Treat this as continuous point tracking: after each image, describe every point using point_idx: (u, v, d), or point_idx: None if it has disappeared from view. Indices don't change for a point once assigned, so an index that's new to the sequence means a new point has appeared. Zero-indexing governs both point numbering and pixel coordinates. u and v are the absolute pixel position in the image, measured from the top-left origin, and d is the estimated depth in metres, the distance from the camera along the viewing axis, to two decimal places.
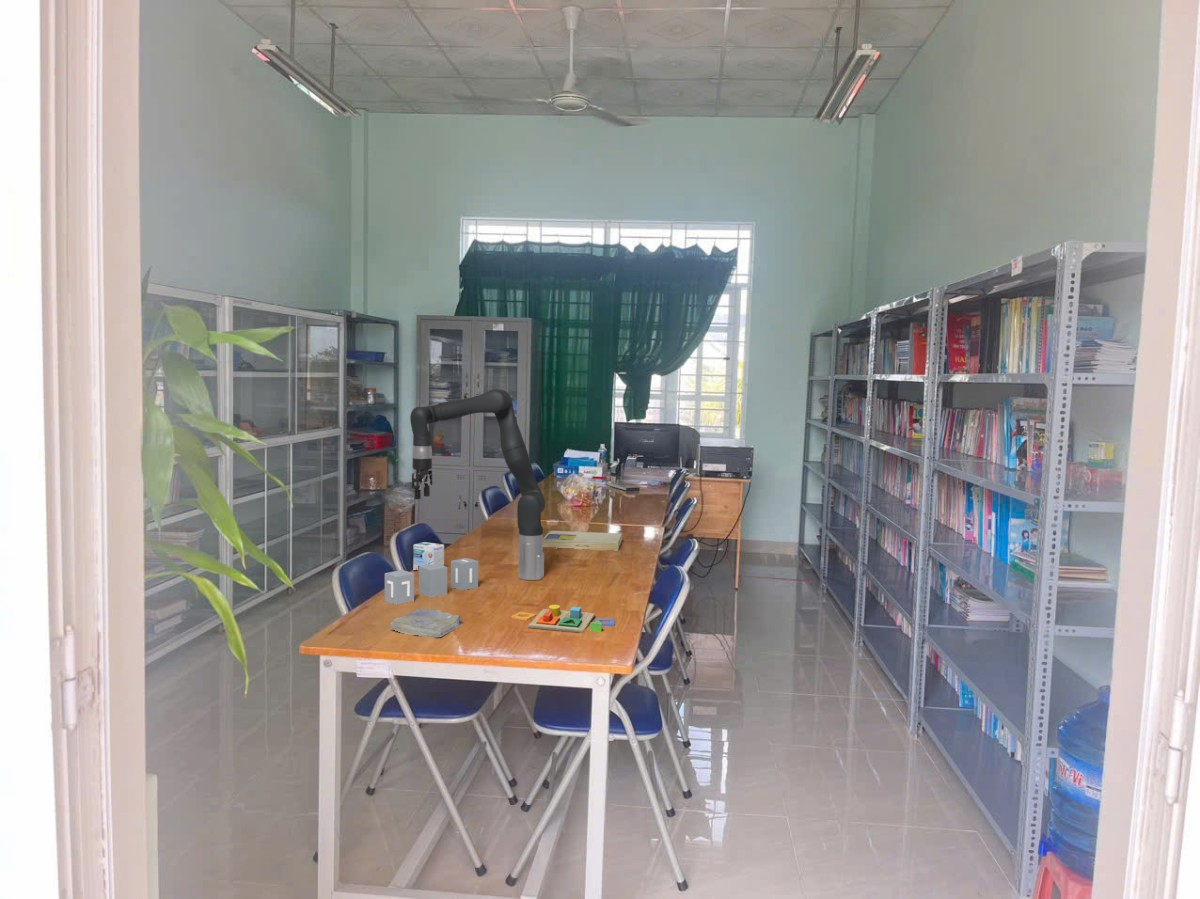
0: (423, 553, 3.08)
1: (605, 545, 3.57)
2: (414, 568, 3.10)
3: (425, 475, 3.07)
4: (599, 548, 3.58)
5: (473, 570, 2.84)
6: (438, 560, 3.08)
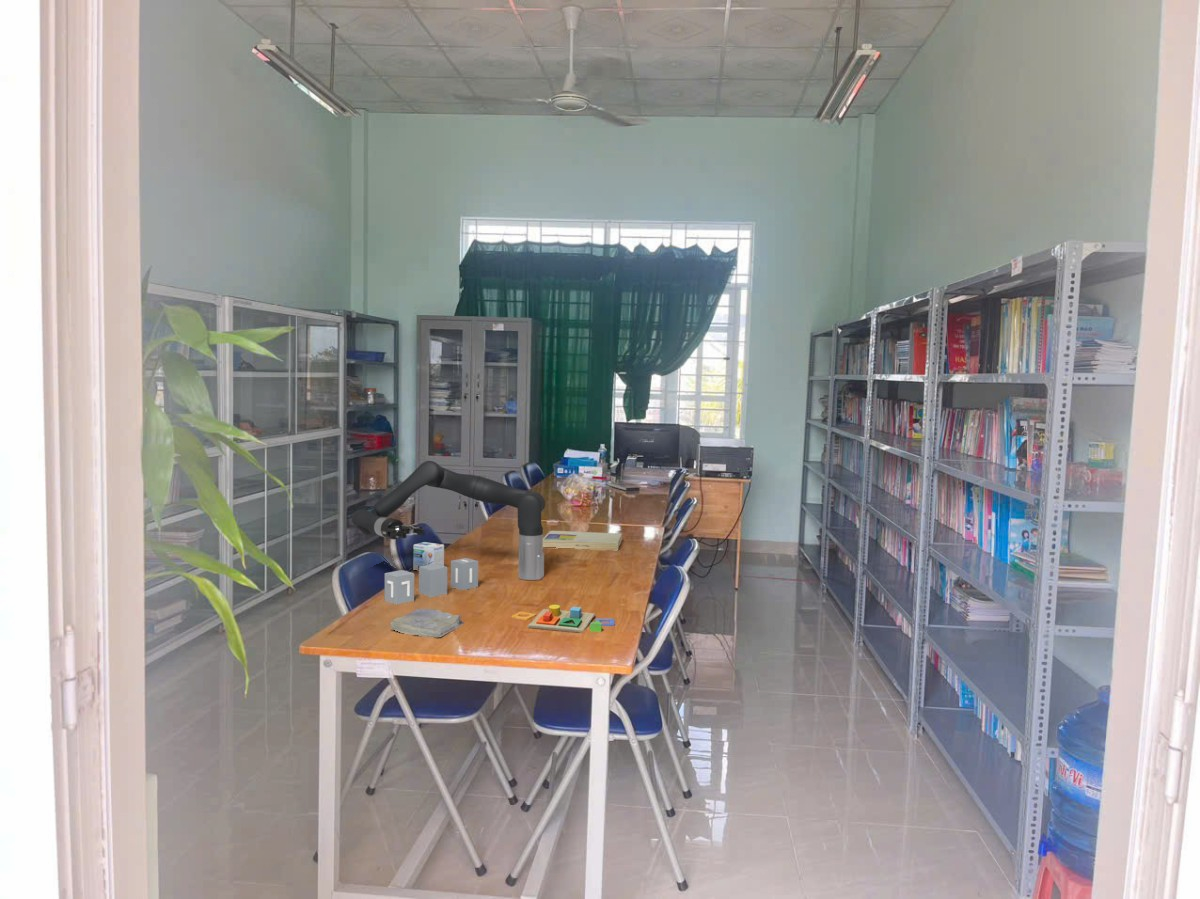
0: (423, 553, 3.08)
1: (604, 545, 3.57)
2: (414, 568, 3.10)
3: (396, 525, 2.87)
4: (599, 548, 3.58)
5: (473, 570, 2.84)
6: (438, 560, 3.08)
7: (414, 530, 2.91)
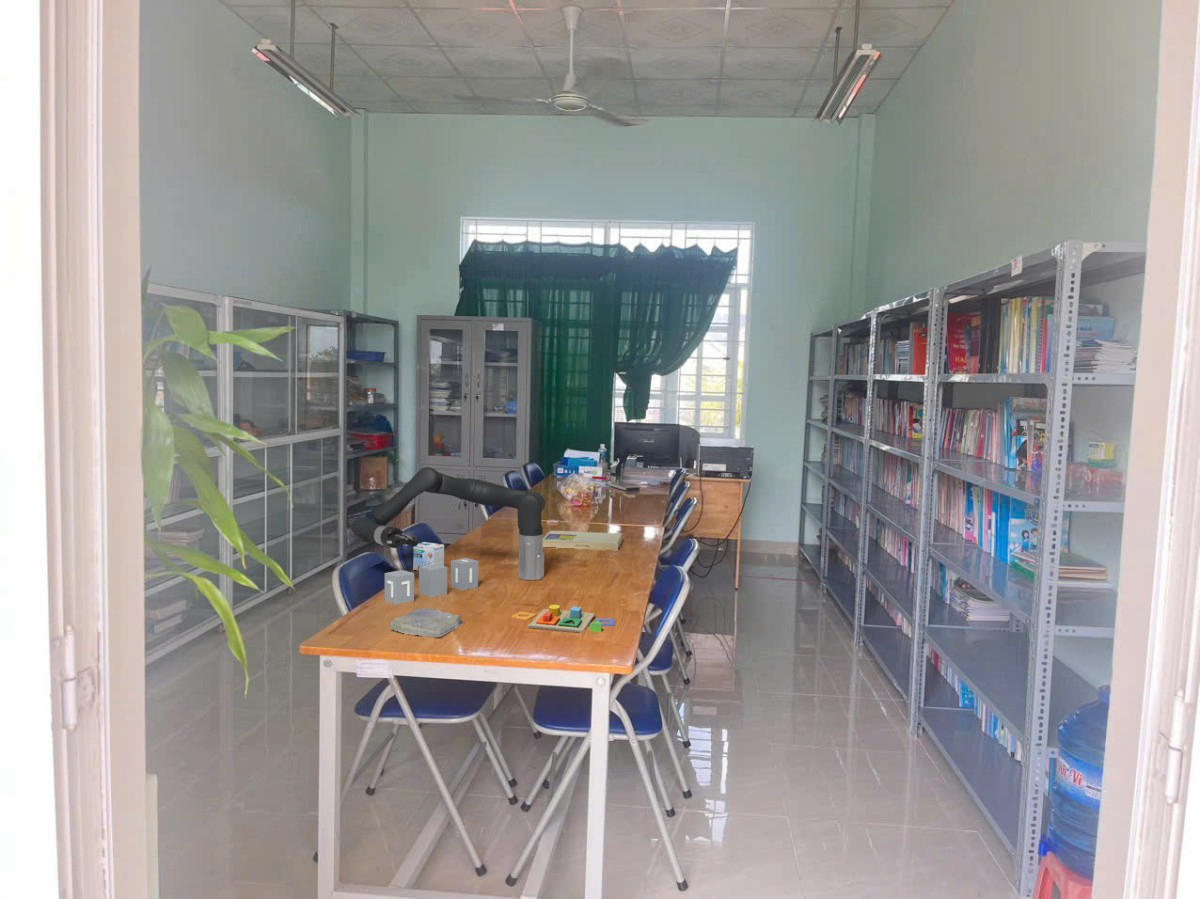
0: (423, 553, 3.08)
1: (604, 545, 3.57)
2: (414, 568, 3.10)
3: (396, 534, 2.87)
4: (599, 548, 3.58)
5: (473, 570, 2.84)
6: (438, 560, 3.08)
7: None
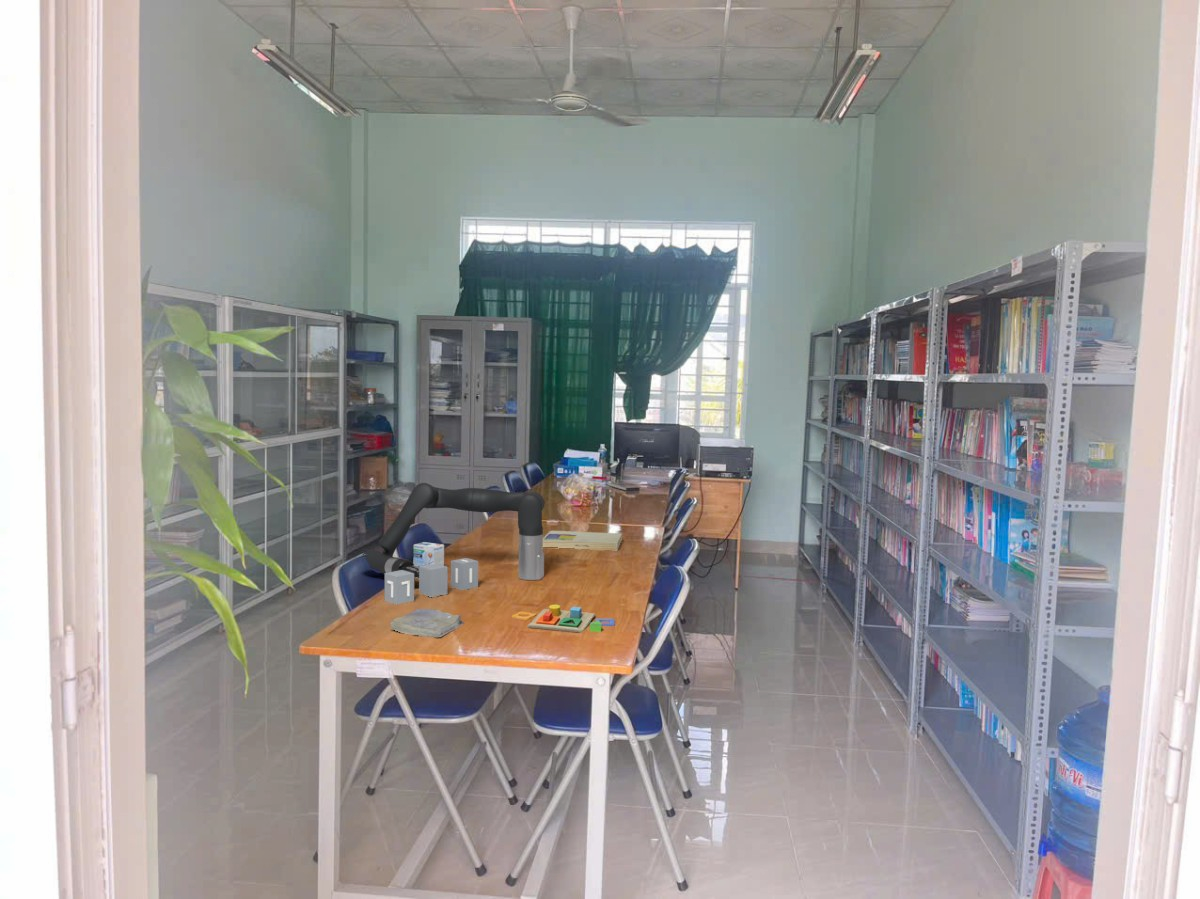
0: (423, 553, 3.08)
1: (604, 545, 3.57)
2: None
3: (407, 566, 2.83)
4: (598, 548, 3.58)
5: (473, 570, 2.84)
6: (438, 560, 3.08)
7: None
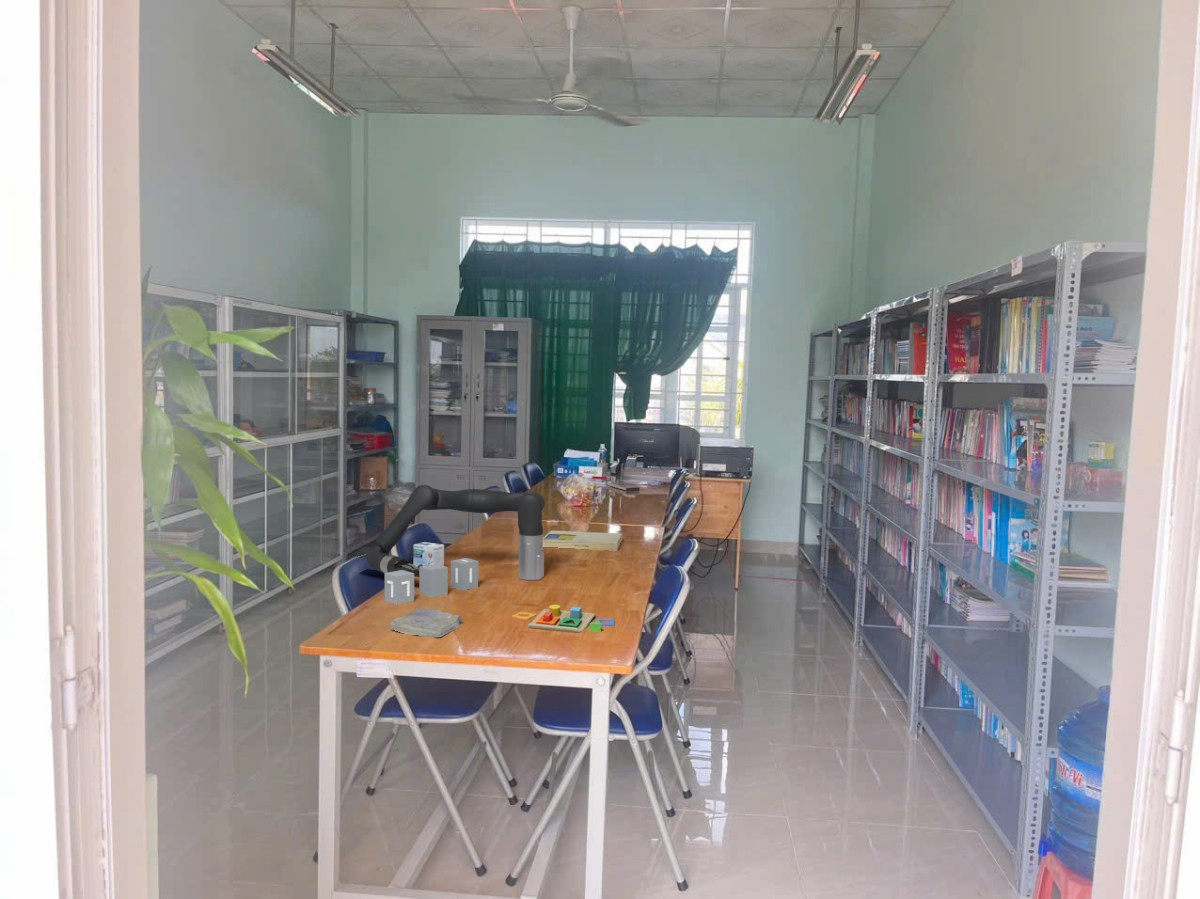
0: (423, 553, 3.08)
1: (604, 545, 3.57)
2: None
3: (403, 564, 2.85)
4: (598, 548, 3.58)
5: (473, 570, 2.84)
6: (438, 560, 3.08)
7: None
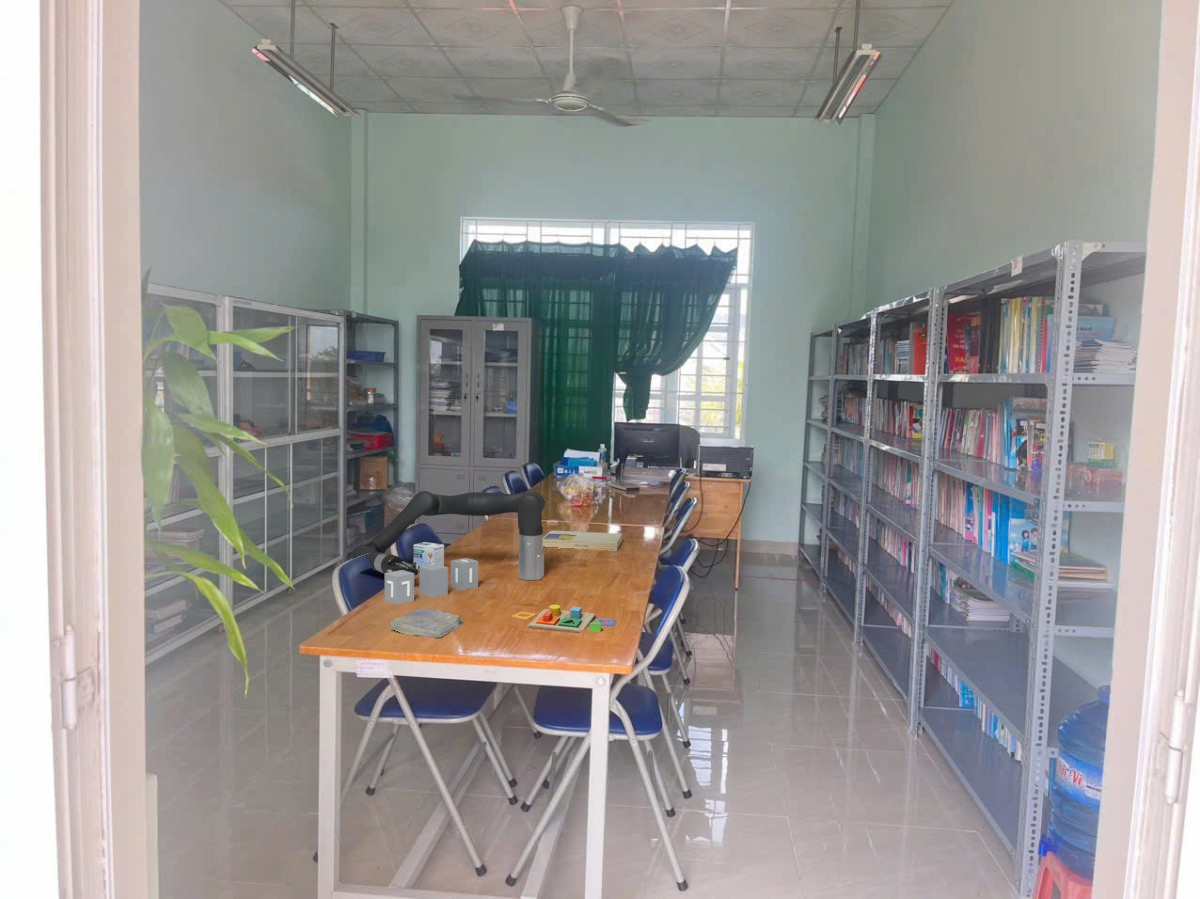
0: (423, 553, 3.08)
1: (603, 545, 3.57)
2: None
3: (396, 562, 2.87)
4: (598, 548, 3.57)
5: (473, 570, 2.84)
6: (438, 560, 3.08)
7: None
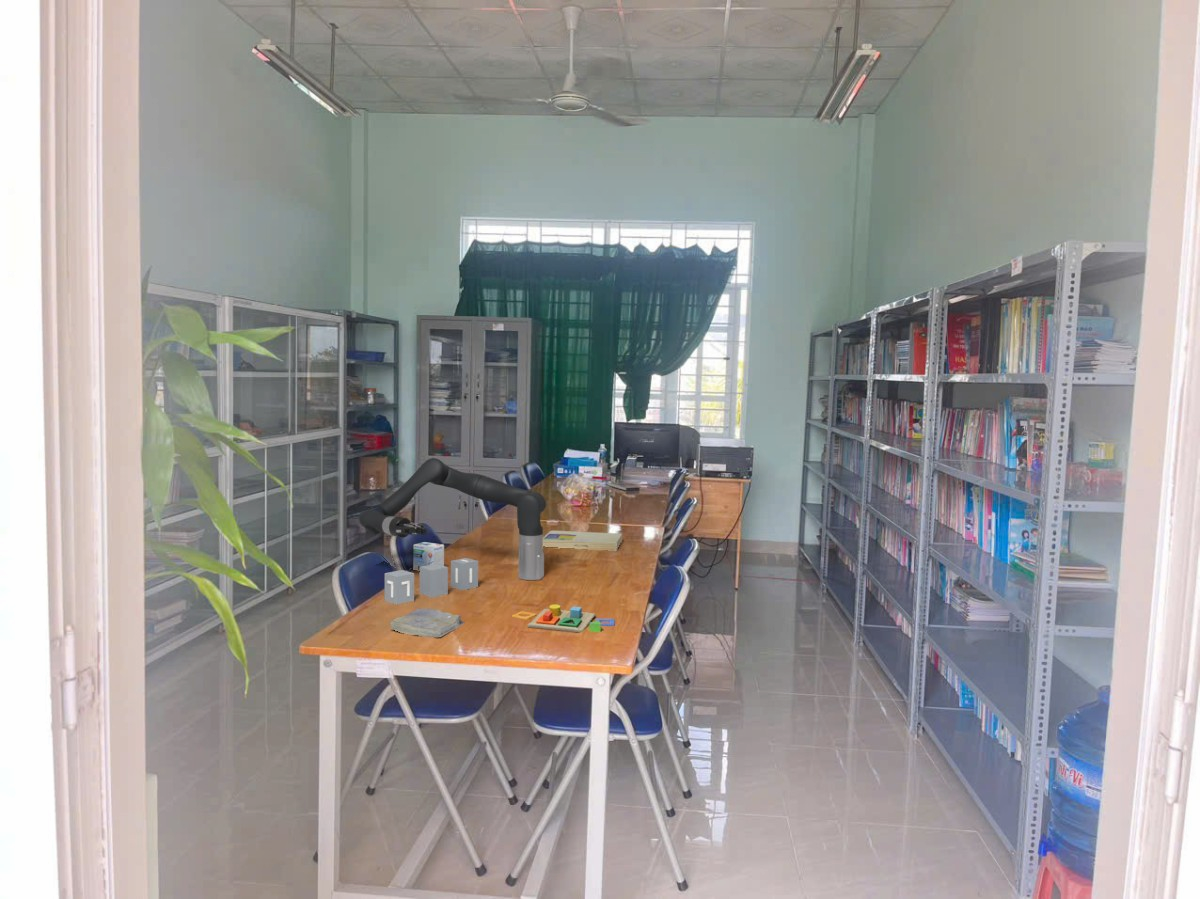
0: (423, 553, 3.08)
1: (603, 545, 3.57)
2: (414, 568, 3.10)
3: (404, 523, 2.90)
4: (598, 548, 3.57)
5: (473, 570, 2.84)
6: (438, 560, 3.08)
7: None
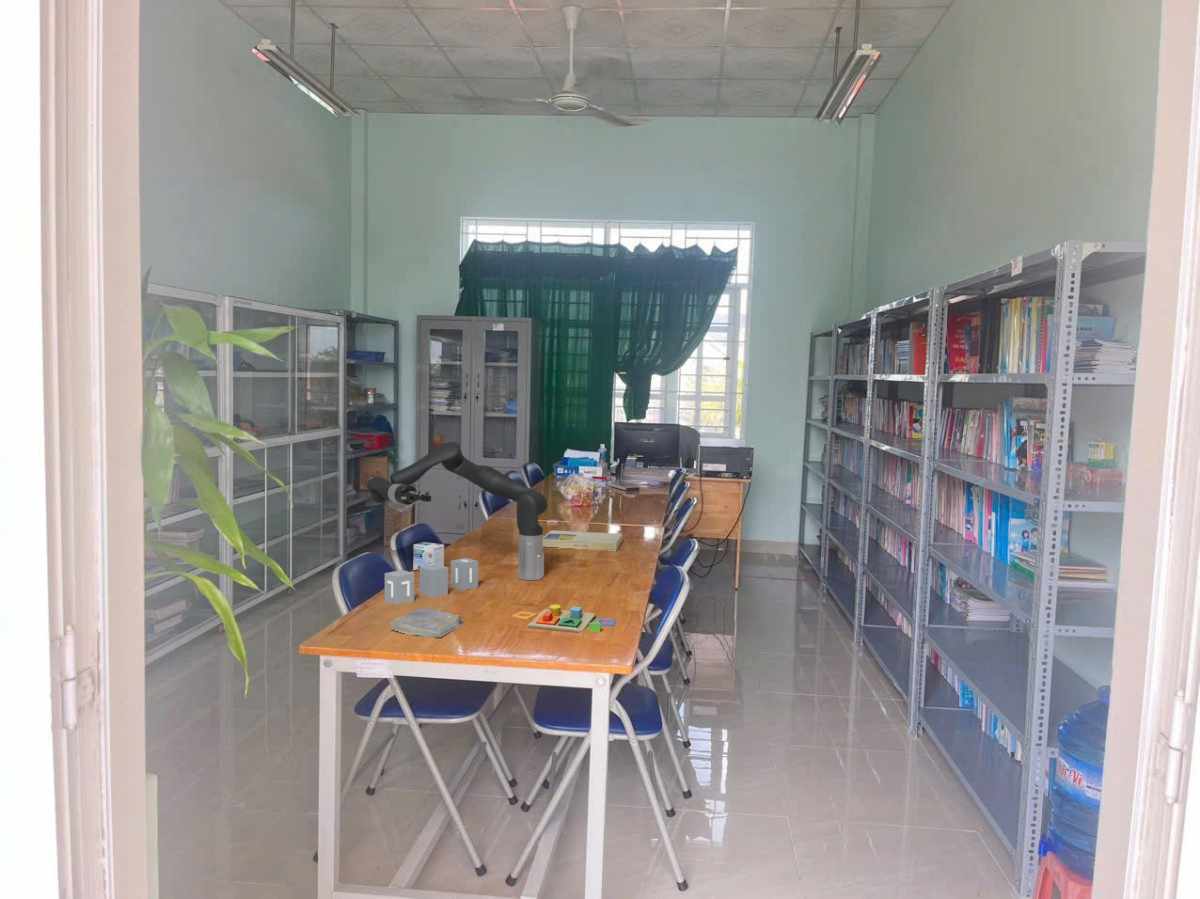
0: (423, 553, 3.08)
1: (603, 545, 3.57)
2: (414, 568, 3.10)
3: (410, 491, 2.94)
4: (597, 548, 3.57)
5: (473, 570, 2.84)
6: (438, 560, 3.08)
7: None
